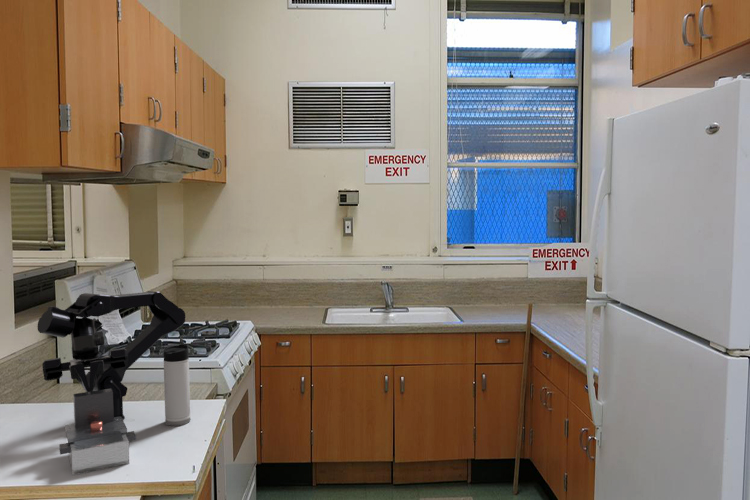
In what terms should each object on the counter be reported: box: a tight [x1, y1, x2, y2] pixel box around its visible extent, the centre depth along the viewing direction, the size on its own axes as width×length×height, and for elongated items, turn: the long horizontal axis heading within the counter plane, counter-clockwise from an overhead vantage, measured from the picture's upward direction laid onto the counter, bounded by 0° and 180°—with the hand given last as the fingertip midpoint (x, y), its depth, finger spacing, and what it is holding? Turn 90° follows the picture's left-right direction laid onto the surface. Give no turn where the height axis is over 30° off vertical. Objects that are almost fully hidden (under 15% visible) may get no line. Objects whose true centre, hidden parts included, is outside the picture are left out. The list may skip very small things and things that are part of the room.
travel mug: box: [163, 343, 191, 427], centre depth 153 cm, size 6×7×20 cm
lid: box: [64, 389, 128, 443], centre depth 132 cm, size 10×12×8 cm
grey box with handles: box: [58, 430, 137, 476], centre depth 128 cm, size 10×15×5 cm, turn 121°
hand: (89, 394), depth 139 cm, fingers closed
